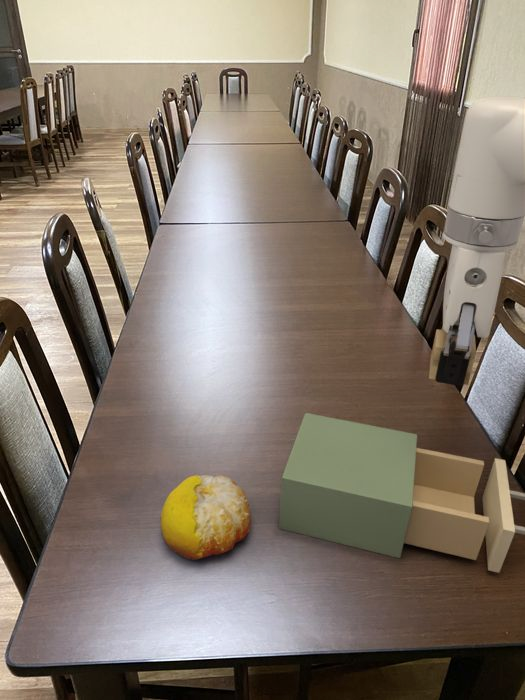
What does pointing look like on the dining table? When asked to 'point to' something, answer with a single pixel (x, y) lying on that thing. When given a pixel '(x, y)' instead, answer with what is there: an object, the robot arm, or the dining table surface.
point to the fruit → (205, 516)
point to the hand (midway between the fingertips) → (449, 369)
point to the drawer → (461, 507)
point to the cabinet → (349, 484)
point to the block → (439, 346)
